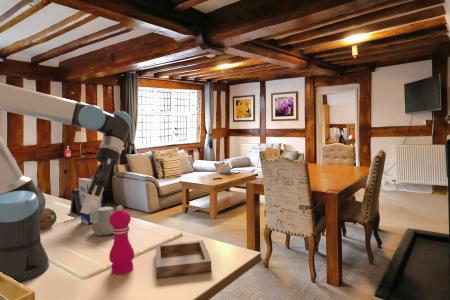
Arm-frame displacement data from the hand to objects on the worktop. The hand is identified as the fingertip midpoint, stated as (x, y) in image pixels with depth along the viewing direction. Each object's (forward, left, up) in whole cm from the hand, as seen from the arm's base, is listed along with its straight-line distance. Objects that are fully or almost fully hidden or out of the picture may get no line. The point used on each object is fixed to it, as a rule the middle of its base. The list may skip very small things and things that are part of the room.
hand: (88, 210), depth 101 cm
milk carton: (-6, +38, -17) cm, 42 cm away
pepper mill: (+11, -10, -17) cm, 22 cm away
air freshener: (+2, +23, -17) cm, 29 cm away
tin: (-27, +34, -17) cm, 47 cm away
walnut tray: (+29, -10, -16) cm, 35 cm away
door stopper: (-14, +54, -17) cm, 59 cm away
